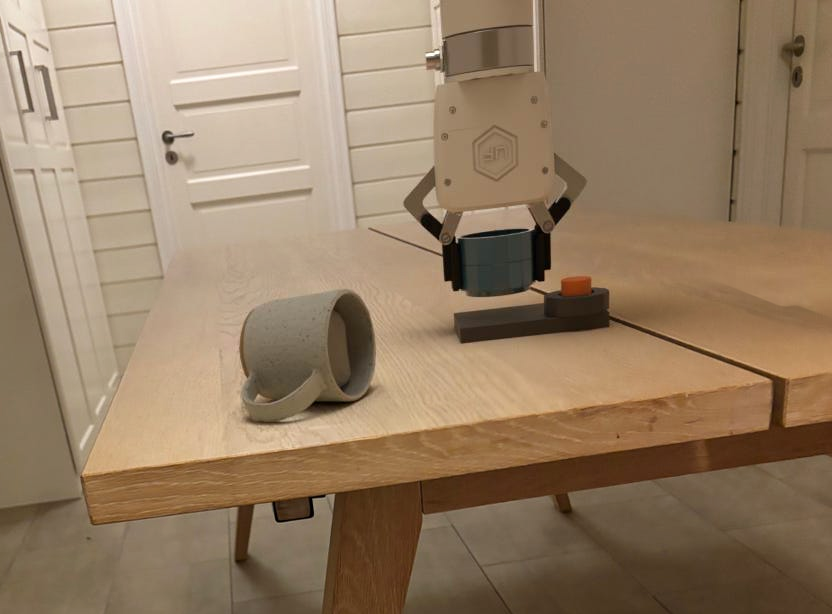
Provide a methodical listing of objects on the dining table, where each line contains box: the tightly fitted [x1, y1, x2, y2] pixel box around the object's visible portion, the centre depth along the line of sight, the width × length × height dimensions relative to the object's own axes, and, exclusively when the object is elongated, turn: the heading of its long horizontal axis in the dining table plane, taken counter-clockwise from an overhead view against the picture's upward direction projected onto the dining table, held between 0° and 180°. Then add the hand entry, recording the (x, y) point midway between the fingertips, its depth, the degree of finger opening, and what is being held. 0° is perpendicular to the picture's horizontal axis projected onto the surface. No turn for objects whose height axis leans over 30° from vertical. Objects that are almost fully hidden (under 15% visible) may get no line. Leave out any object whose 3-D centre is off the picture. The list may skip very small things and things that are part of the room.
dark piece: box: [453, 286, 610, 345], centre depth 88 cm, size 13×10×3 cm
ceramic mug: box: [238, 288, 377, 423], centre depth 69 cm, size 11×8×8 cm
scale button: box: [560, 275, 592, 296], centre depth 85 cm, size 3×3×2 cm
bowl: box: [456, 227, 537, 298], centre depth 87 cm, size 7×7×5 cm
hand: (497, 283), depth 88 cm, fingers closed on bowl, 6 cm apart
